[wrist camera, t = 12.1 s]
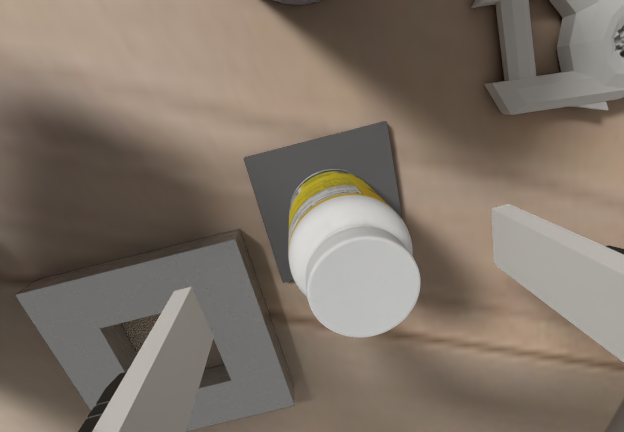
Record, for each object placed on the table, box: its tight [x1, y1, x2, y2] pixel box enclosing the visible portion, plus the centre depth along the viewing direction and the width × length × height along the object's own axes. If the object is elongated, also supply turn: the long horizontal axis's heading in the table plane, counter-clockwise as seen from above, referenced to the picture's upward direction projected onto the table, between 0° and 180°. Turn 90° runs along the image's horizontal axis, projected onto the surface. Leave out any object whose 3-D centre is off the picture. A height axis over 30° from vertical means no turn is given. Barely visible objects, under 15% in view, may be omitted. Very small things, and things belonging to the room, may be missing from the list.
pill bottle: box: [288, 169, 421, 338], centre depth 18 cm, size 6×6×11 cm
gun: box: [471, 0, 624, 115], centre depth 20 cm, size 18×3×10 cm
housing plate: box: [15, 229, 294, 431], centre depth 26 cm, size 16×16×2 cm
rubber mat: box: [244, 121, 402, 283], centre depth 23 cm, size 10×10×1 cm
